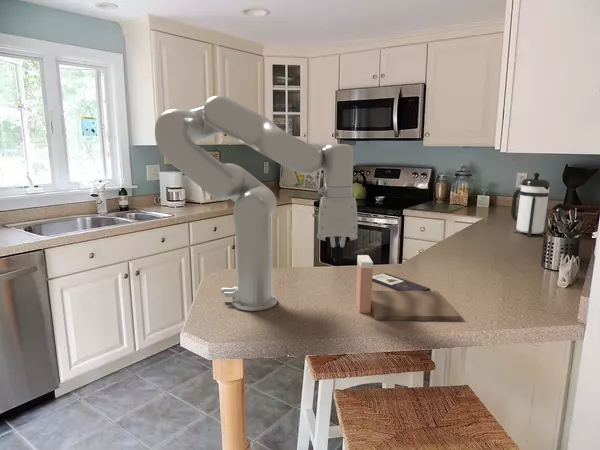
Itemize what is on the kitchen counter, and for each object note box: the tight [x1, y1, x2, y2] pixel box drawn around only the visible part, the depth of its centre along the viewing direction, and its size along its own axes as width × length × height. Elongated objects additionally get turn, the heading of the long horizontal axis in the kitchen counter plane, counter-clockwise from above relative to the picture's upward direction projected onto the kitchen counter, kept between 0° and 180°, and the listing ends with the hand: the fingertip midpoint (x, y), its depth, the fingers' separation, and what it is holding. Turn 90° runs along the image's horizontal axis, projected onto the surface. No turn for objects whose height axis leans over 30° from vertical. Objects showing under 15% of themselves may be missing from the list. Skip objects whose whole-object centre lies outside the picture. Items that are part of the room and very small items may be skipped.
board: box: [371, 290, 462, 321], centre depth 119 cm, size 22×18×1 cm
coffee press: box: [510, 172, 552, 238], centre depth 208 cm, size 17×16×30 cm
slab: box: [355, 254, 374, 314], centre depth 116 cm, size 3×7×14 cm, turn 1°
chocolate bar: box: [372, 272, 431, 291], centre depth 137 cm, size 9×1×18 cm
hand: (337, 260), depth 115 cm, fingers closed
